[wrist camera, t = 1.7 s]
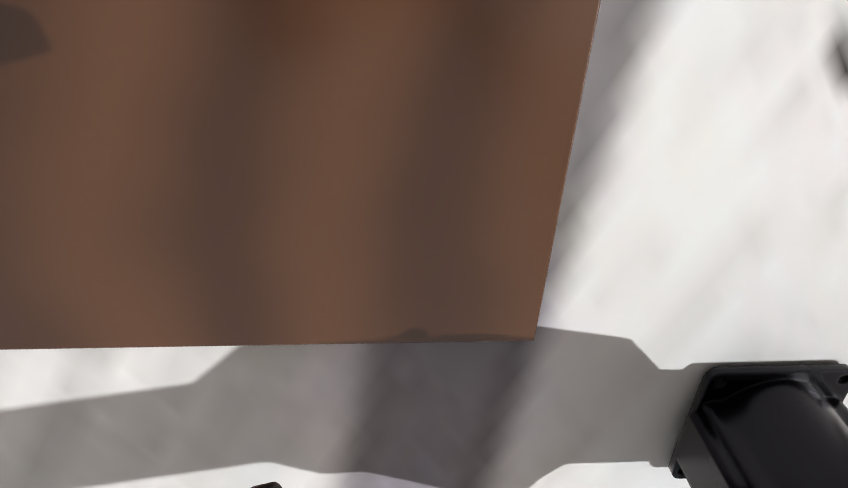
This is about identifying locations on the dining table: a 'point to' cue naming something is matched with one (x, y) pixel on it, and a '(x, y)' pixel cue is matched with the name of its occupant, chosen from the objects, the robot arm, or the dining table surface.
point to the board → (282, 169)
